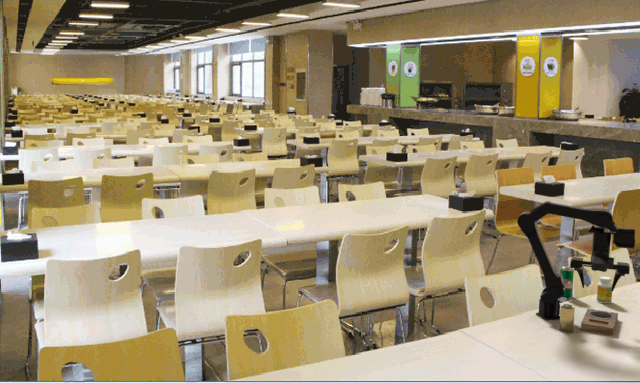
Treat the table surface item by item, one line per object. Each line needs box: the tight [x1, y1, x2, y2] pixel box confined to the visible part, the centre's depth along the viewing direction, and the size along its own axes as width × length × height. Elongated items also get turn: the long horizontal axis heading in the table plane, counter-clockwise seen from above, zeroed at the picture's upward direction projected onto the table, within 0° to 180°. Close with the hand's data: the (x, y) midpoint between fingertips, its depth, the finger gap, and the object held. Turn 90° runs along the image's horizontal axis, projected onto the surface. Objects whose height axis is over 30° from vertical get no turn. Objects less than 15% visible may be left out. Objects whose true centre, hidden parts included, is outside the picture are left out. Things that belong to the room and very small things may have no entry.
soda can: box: [559, 265, 575, 299], centre depth 256 cm, size 5×5×12 cm
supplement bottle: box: [596, 276, 613, 304], centre depth 249 cm, size 5×5×10 cm
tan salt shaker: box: [558, 303, 576, 334], centre depth 217 cm, size 4×4×9 cm
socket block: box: [580, 308, 619, 336], centre depth 223 cm, size 18×10×2 cm, turn 151°
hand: (597, 289), depth 224 cm, fingers open, 9 cm apart
